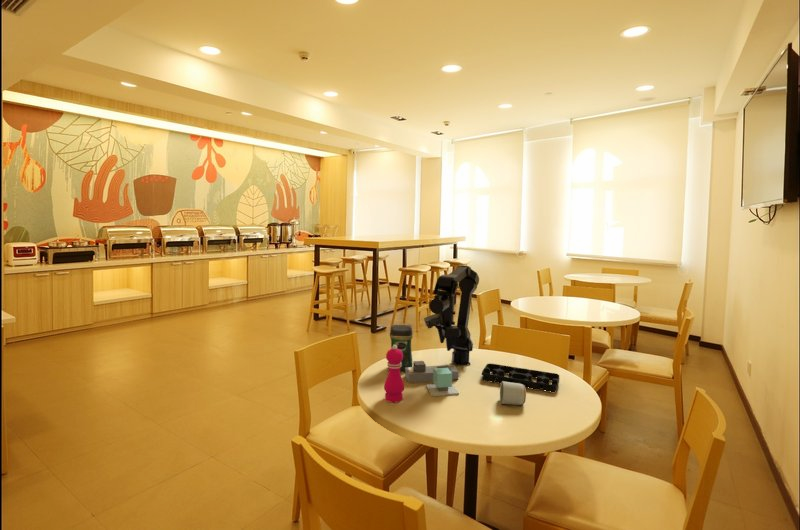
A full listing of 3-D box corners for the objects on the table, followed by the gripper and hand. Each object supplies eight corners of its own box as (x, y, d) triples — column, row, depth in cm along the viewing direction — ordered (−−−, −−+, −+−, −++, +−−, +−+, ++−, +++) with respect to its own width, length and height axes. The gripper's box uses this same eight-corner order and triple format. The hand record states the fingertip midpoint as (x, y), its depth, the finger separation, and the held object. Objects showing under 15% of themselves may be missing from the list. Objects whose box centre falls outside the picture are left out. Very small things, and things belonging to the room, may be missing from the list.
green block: (447, 385, 174) (447, 367, 173) (451, 391, 169) (452, 373, 168) (432, 386, 173) (433, 368, 172) (436, 392, 168) (437, 374, 166)
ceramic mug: (526, 408, 157) (527, 387, 156) (502, 407, 158) (503, 386, 157) (520, 395, 168) (521, 375, 167) (497, 394, 168) (498, 374, 167)
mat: (451, 384, 176) (451, 383, 176) (458, 394, 167) (458, 393, 167) (426, 386, 174) (426, 384, 174) (432, 396, 166) (432, 394, 165)
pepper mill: (389, 404, 159) (390, 349, 155) (380, 396, 165) (381, 343, 162) (407, 400, 162) (408, 346, 159) (398, 392, 168) (399, 340, 165)
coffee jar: (412, 364, 196) (413, 322, 193) (412, 372, 188) (413, 328, 185) (390, 364, 196) (390, 322, 193) (388, 371, 188) (389, 327, 186)
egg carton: (481, 370, 192) (481, 362, 191) (556, 376, 186) (556, 368, 186) (481, 387, 175) (481, 378, 174) (563, 395, 169) (564, 385, 169)
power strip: (452, 372, 188) (453, 357, 187) (458, 379, 181) (458, 364, 180) (404, 375, 184) (405, 360, 183) (408, 382, 177) (408, 366, 176)
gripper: (420, 303, 185) (419, 340, 188) (432, 315, 167) (431, 356, 170) (447, 302, 187) (445, 338, 190) (461, 314, 169) (460, 354, 172)
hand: (445, 346), depth 180 cm, fingers open, 9 cm apart
